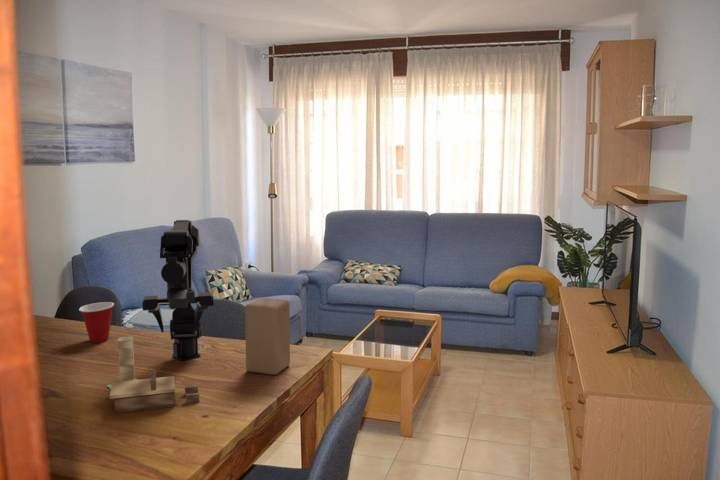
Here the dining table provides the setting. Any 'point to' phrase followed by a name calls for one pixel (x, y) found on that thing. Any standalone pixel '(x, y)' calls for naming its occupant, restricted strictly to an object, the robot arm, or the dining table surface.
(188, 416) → the dining table surface
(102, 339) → the plastic cup
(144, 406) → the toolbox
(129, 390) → the lid
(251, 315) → the wooden block
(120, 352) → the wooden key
